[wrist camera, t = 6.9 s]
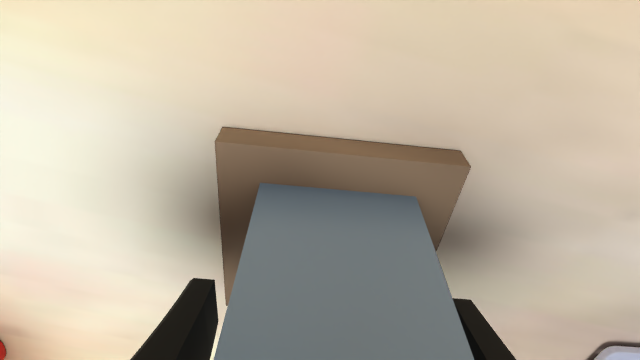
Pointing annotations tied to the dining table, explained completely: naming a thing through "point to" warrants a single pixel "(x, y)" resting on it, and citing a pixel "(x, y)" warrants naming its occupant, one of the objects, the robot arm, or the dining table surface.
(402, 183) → the board
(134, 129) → the dining table surface
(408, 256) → the blue-grey block
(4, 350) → the paper cup
